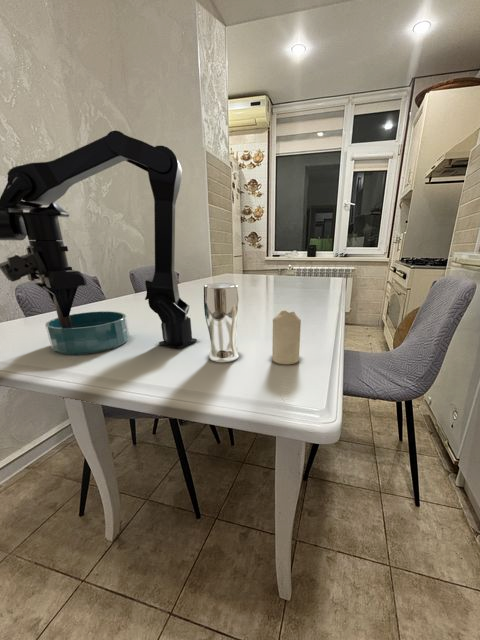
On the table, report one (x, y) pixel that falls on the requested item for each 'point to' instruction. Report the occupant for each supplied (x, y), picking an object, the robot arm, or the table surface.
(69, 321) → the brown rod
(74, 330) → the bowl
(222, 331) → the beer glass
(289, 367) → the table surface
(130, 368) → the table surface
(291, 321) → the candle
